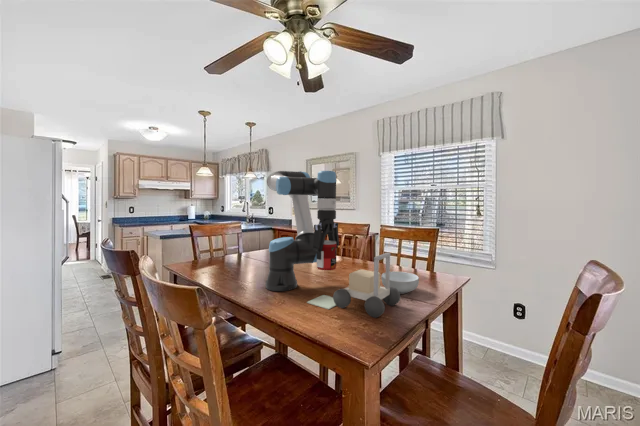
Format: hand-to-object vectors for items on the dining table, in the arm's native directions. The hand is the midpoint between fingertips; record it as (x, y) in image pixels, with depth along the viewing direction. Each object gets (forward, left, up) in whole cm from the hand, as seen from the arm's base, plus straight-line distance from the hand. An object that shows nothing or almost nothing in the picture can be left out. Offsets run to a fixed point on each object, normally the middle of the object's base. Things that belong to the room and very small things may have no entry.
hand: (326, 265), depth 113 cm
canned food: (0, 0, -1) cm, 1 cm away
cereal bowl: (+18, +33, -15) cm, 40 cm away
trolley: (+15, +7, -15) cm, 22 cm away
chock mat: (0, 0, -15) cm, 15 cm away
